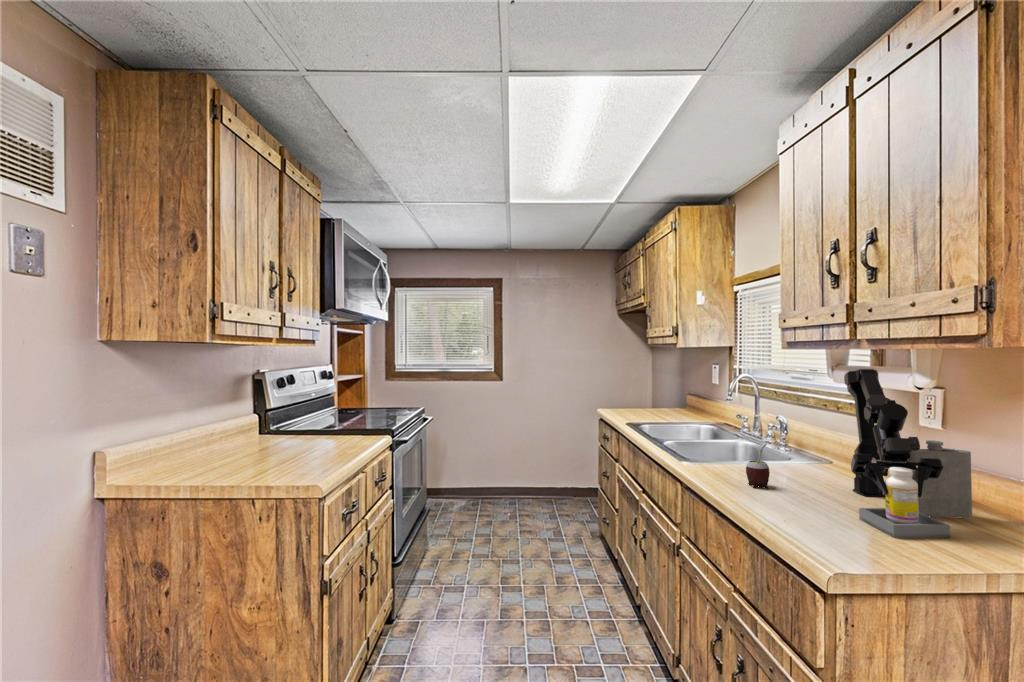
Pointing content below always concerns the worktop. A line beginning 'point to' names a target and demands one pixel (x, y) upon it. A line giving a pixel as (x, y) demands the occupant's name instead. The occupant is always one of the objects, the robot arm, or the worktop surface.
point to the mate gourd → (758, 472)
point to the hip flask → (946, 482)
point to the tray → (904, 525)
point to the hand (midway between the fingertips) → (903, 495)
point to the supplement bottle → (901, 496)
